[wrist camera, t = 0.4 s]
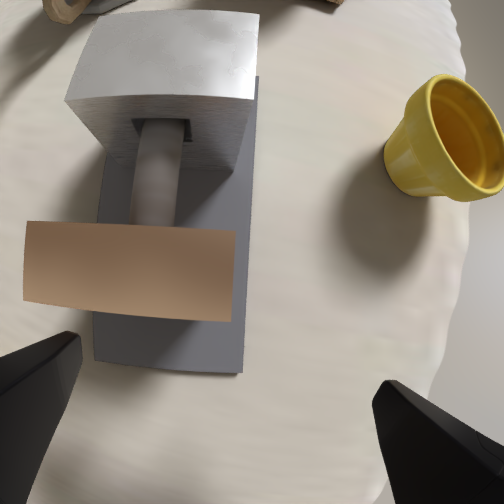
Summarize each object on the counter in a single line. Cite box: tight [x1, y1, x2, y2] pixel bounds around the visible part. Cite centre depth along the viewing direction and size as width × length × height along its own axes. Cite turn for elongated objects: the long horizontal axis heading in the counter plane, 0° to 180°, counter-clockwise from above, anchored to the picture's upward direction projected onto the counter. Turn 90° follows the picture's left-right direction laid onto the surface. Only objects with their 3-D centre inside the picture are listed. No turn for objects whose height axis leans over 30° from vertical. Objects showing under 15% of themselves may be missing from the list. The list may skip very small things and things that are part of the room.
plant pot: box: [384, 74, 504, 202], centre depth 21 cm, size 10×10×10 cm
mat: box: [93, 76, 259, 373], centre depth 23 cm, size 25×12×1 cm, turn 177°
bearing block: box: [64, 10, 260, 172], centre depth 17 cm, size 6×9×11 cm, turn 87°
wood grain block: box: [23, 118, 236, 322], centre depth 16 cm, size 13×8×12 cm, turn 177°
